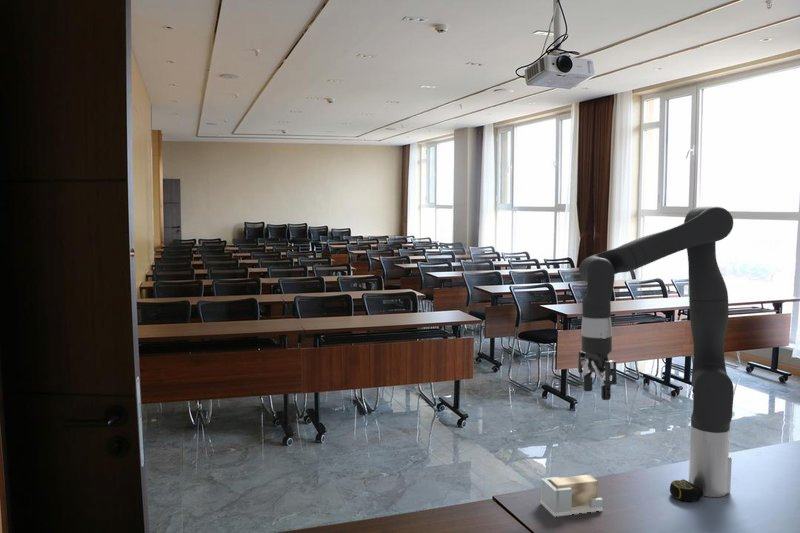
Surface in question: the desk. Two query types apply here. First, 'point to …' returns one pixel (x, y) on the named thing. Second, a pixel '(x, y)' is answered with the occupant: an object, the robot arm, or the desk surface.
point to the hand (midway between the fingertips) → (596, 395)
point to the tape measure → (685, 490)
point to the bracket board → (564, 500)
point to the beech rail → (578, 488)
